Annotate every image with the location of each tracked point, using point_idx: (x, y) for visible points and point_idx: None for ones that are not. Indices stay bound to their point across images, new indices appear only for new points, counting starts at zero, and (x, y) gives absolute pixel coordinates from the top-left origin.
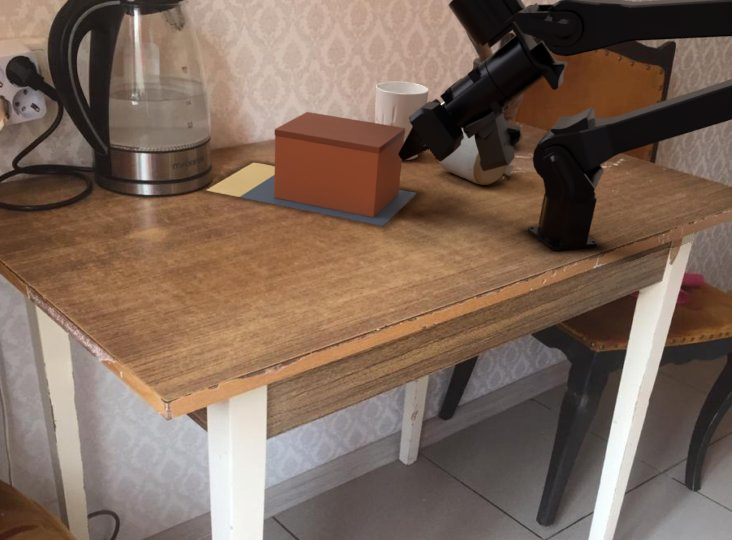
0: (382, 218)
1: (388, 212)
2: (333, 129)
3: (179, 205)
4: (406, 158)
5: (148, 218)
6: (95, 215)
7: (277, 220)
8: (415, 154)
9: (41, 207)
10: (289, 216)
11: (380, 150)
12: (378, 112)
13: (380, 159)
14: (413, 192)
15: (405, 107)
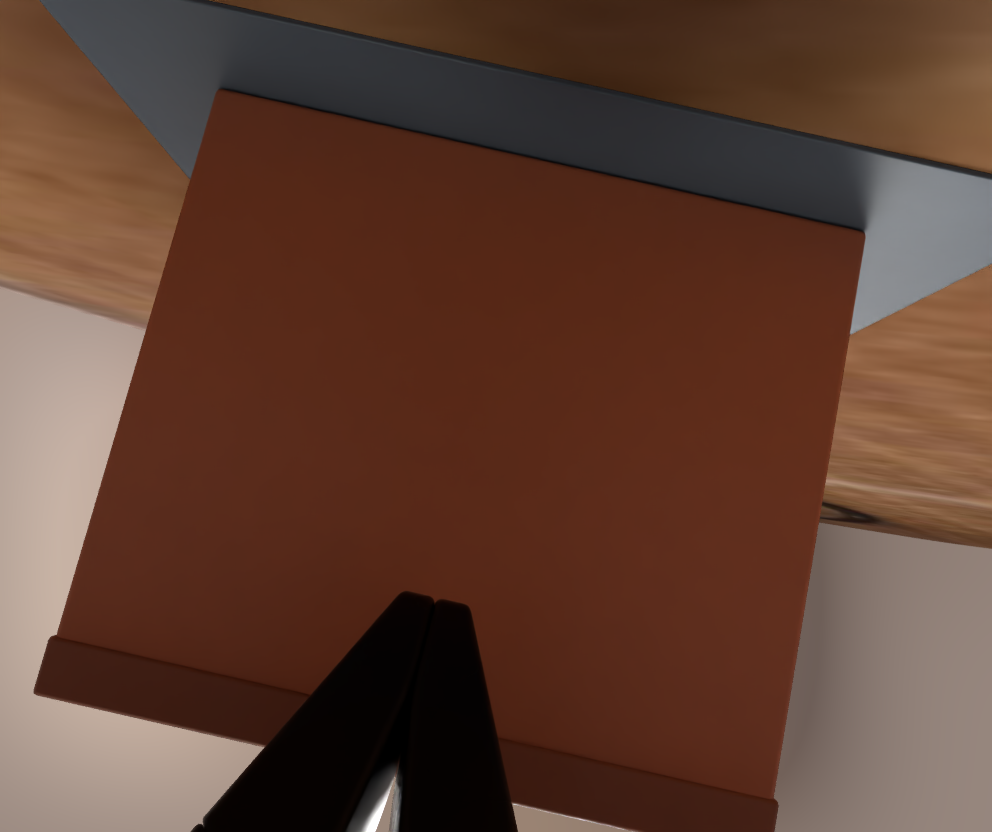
0: (882, 194)
1: (709, 158)
2: None
3: None
4: (478, 651)
5: (914, 494)
6: (896, 507)
7: (930, 418)
8: (500, 772)
9: (851, 513)
10: (873, 398)
11: (746, 818)
12: None
13: (730, 716)
14: None
15: None
